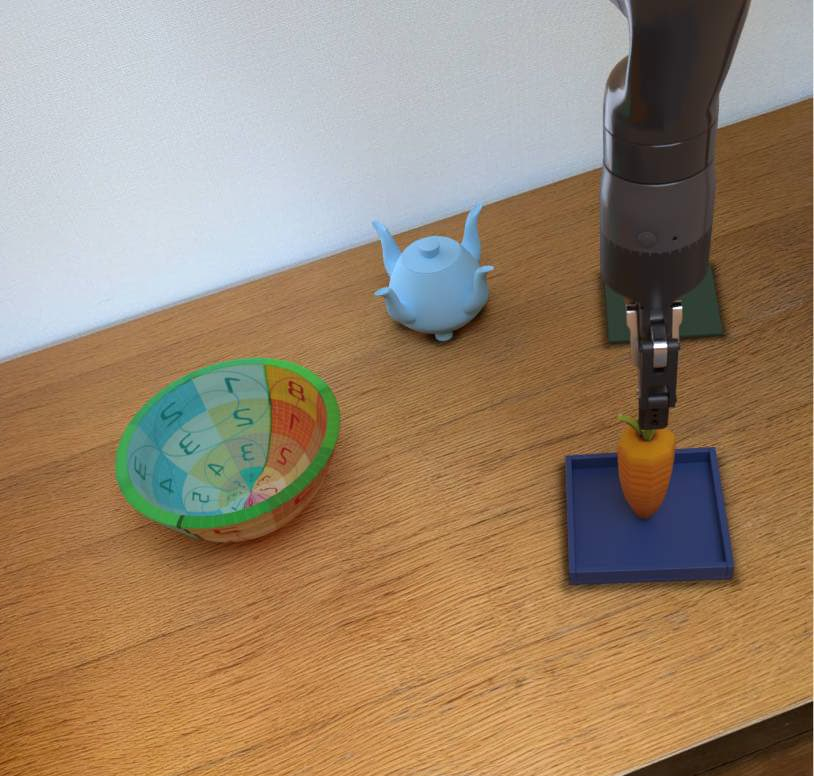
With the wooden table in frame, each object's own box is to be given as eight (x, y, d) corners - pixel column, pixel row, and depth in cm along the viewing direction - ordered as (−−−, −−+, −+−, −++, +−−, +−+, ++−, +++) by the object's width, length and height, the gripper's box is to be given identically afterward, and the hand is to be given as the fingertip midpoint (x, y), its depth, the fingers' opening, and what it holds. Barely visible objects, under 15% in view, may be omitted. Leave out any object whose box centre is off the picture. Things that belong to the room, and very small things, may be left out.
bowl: (224, 406, 113) (195, 339, 105) (397, 449, 104) (379, 379, 96) (110, 555, 102) (68, 492, 94) (293, 617, 93) (263, 553, 85)
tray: (713, 459, 96) (715, 446, 95) (732, 579, 88) (734, 566, 86) (565, 468, 99) (565, 455, 97) (569, 584, 90) (569, 572, 89)
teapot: (491, 273, 119) (483, 200, 112) (503, 345, 111) (494, 271, 103) (386, 290, 121) (370, 219, 113) (389, 363, 112) (373, 291, 105)
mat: (710, 265, 114) (710, 262, 113) (722, 335, 106) (723, 332, 106) (603, 275, 116) (603, 272, 115) (608, 344, 108) (608, 341, 108)
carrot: (651, 547, 91) (656, 433, 79) (606, 522, 93) (604, 409, 81) (682, 512, 92) (691, 396, 81) (637, 489, 95) (639, 374, 83)
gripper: (726, 275, 62) (706, 450, 75) (701, 150, 71) (687, 326, 83) (604, 285, 64) (605, 456, 76) (595, 161, 72) (597, 333, 85)
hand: (648, 388), depth 80 cm, fingers open, 8 cm apart
